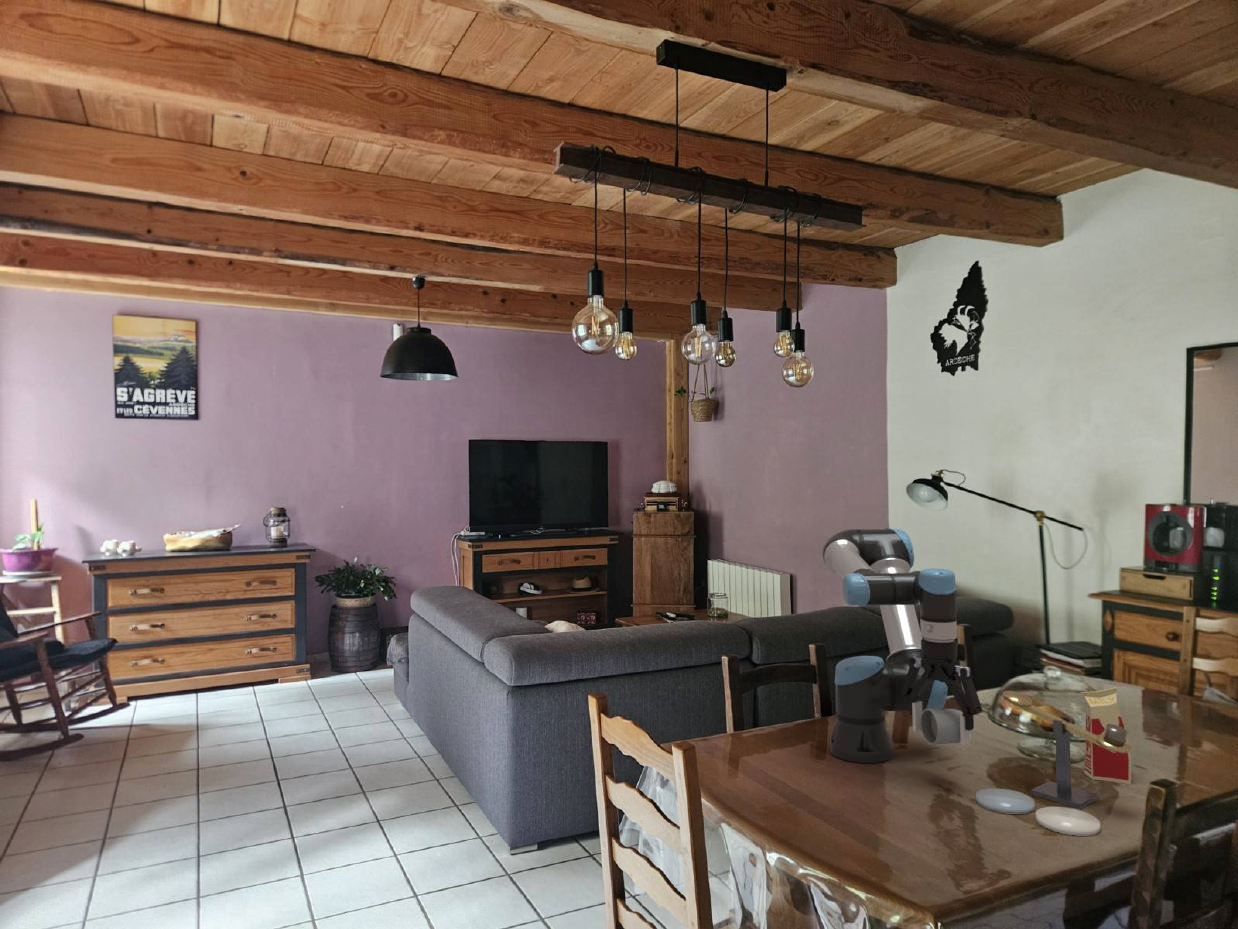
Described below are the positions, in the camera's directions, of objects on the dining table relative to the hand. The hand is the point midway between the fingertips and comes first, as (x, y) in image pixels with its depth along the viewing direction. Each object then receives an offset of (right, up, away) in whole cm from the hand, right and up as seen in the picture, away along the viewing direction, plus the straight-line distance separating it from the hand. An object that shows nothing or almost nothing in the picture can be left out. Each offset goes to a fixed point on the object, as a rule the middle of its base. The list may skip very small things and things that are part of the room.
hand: (941, 737), depth 178 cm
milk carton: (+39, -10, +3) cm, 40 cm away
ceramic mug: (0, -1, +1) cm, 2 cm away
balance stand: (+23, -10, -9) cm, 26 cm away
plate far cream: (+16, -9, -22) cm, 29 cm away
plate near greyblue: (+9, -10, -12) cm, 18 cm away
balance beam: (+22, +6, -9) cm, 25 cm away
